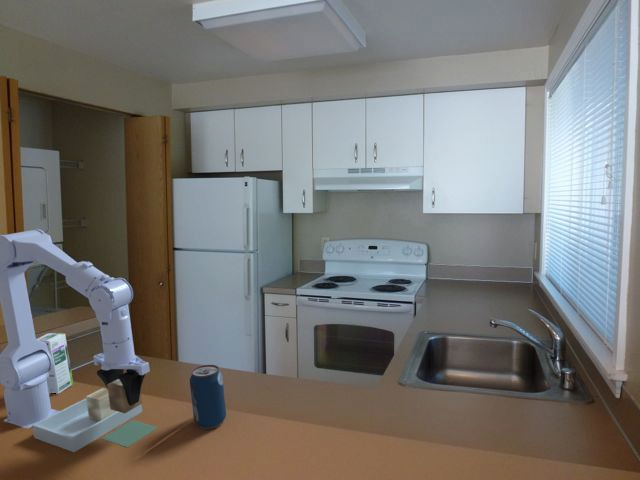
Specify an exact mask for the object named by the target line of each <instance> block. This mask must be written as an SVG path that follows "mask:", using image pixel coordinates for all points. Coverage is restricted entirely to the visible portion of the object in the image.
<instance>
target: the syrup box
mask: <svg viewBox="0 0 640 480" xmlns="http://www.w3.org/2000/svg"><path fill="white" fill-rule="evenodd" d="M36 339H37V340H39V341H42V342H44V343H46V344H47V349H48V351H49V353H50V355H51V357H52V360H53V366H52V369H51V371H50V372H49V377H47V378H46V379H47V386H48V392H49V393H56V394H55V395H60V394H61V393H62V392H64V391H65V390H67V389H68V388H70V387H72V386H73V385H74V378H73V373H72V367H71V361H70V356H69V354H70V353H69V349H68V344H67V343H68V342H67V337H66V333H63V332H51V333H50V332H49V333H47V332H46V334H44V335H42V336H40V337H38V338H36ZM59 393H60V394H59Z"/></svg>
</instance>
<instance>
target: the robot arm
mask: <svg viewBox="0 0 640 480" xmlns="http://www.w3.org/2000/svg"><path fill="white" fill-rule="evenodd" d="M37 261H38V262H40V263H41V264H43V265H45V266H47V267H48V268H51V269H52V270H55V272H58V273H60V274H61V275H63V276H65V284H67V285H68V286H70V287H71V288H72V289H74V290H75V291H76V292H78V293H80V294H81V295H83V296H84V297H85V298H87V299H88V302H89V304H90V307H91V308H92V310H93V311H94V313H95V317H96V319H97V321H98V322H99V328H100V334H101V342H102V348H103V353H102V352H100V353H98V354H95V355H94V356H93V365H94V366H100V365H101V366H100V367H101V368H100V369H98V370H97V371H96V376H98V377H99V378H100V379H101V381H102V382H103V383H104V385H105V387H106V389H108V388H107V384H109V383H111V382H113V381H115V380H117V379H119V380H120V381H121V383H122V385H123V387H124V389H125V393H126V397H127V401H128V404H129V405H131V406H132V405H134V404H135V403H137V402H139V397H140V391H142V390H141V389H142V384H143V382H144V380H145V377H146V374H148V373H149V372H151V371H150V363H149V362H147V361H144V360H143V359H142V358H140V357H139V356H138V355H136V354H135V348H134V347H135V346H134V338H133V333H132V331H133V330H132V324H131V316H130V310H129V304H131V303H132V300H133V298H134V290H133V287H132V286H131V284H130V283H129V282H128V281H127V280H126V279H125V278H123V277H117V278H115V277H110V275H108V274H107V273H106V274H105V272H103V271H101V270H99V269H98V268H96V267H95V266H94V264H93V263H92V262H90V261H79V262H77V261H76V260H75V259H73V258H72V257H71V256H69V255H68V254H67V253H65V251H63V250H62V249H60V248H59V247H58V246H56V245H55V244H54V243H53V241H52V238H51V235H49V234H47V233H46V232H45V231H43V230H42V229H39V228H34V229H31V230H26V231H20V232H14V233H9V234H0V307H1V310H2V317H3V322H4V326H5V333H6V338H7V339H6V340H7V343H8V344H7V345H6V346H5V348H4V349H3V350H2V351H1V353H0V384H1V385H2V386H3V387H5V389H4V392H3V398H4V404H5V408H6V409H5V410H6V415H7V417H6V418H5V419H3V422H4V423H10V424H12V425H15V426H18V427H21V428H23V429H29V428H33V426H32V425H34V424H36V423H38V422H40V421H42V420H44V419H46V418H48V417H50V416H52V415H54V414H55V413H57V412H59V411H60V410H57V409H54V408H52V407H51V406H52V405H51V404H52V403H51V400H50V399H51V398H50V394H49V392H48V386H47V379H46V378H47V377H49V372H50V371H51V369H52V366H53V360H52V357H51V355H50V353H49V351H48V349H47V344H46V343H44V342H42V341H39V340H37V339H38V338H37V337H36V332H35V327H34V321H33V315H32V310H31V304H30V298H29V293H28V287H27V281H26V277H25V272H26V271H27V270H28V268H29V267H31V265H32V264H33V263H35V262H37ZM124 370H125V371H126V372H124Z"/></svg>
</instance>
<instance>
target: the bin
mask: <svg viewBox="0 0 640 480" xmlns="http://www.w3.org/2000/svg"><path fill="white" fill-rule="evenodd" d="M142 405H143V404H141V405H139V406H137V407H135V408H134V409H132V410H130V411H128V412H127V413H121V412H118V411H117V412H115V413H114V414H112V415H110V416H108V417H106V418H105V419H103V420H101V421H99V422H97V421H93V420H90V419H89V414H88V407H87V400H86V397H85V398H84V399H82V400H80V401H77V402H75V403H74V404H71V405H69V406H68V407H65V408H63V409H62V410H58V411H59V412H58V411H56V412H57V413H55V414H54V415H52V416H50V417H48V418H46V419H44V420H42V421H40V422H38V423H36V424H34V425H32V431H33V436H34V439H37V440H39V441H42V442H45V443H48V444H49V445H53V446H56V447H59V448H62V449H64V450H67V451H69V452H72V453H76V452H77V451H79V450H80V449H82V448H84V447H85V446H87V445H90V444H91V443H92V442H94V441H95V440H96V441H97V439H99V438H100V437H101V438H102V436H103V435H106V434H107V433H110V431H113V430H114V429H117V427H120V426H122V424H124V423H125V422H126V423H127V421H130V420H132V418H134V417H136V416H138V415H139V414H141V413H142V412H143V407H142Z"/></svg>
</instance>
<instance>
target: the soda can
mask: <svg viewBox="0 0 640 480" xmlns="http://www.w3.org/2000/svg"><path fill="white" fill-rule="evenodd" d="M189 387H190V397H191V407H192V415H193V416H192V417H193V421H194V423H195V424H196V425H197V426H198V427H199V428H201V429H204V430H210V429H215V428H217V427H219V426H221V425H222V424H223V423H224V421H225V419H226V417H227V409H226V408H227V406H226V398H225V387H224V377H223V374H222V372H221V371H220V368H219V366H217V365H215V364H204V365H200V366H198V367H195V368H194V369H192V370H191V375H190V378H189ZM214 427H215V428H214Z"/></svg>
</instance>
